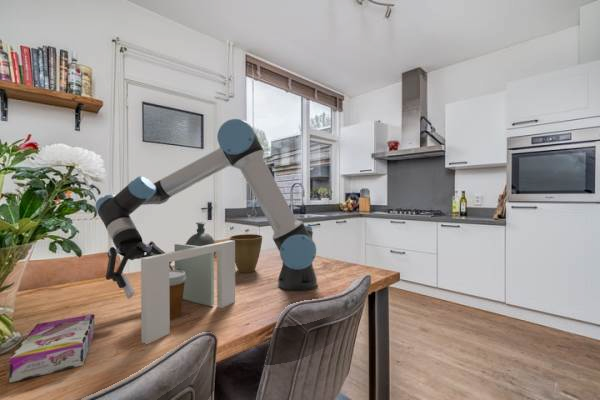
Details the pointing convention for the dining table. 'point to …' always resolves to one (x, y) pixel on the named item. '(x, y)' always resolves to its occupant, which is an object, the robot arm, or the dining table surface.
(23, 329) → the dining table surface
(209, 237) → the flask
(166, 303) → the door frame
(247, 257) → the plant pot
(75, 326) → the candy bar box
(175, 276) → the disposable coffee cup
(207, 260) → the door
